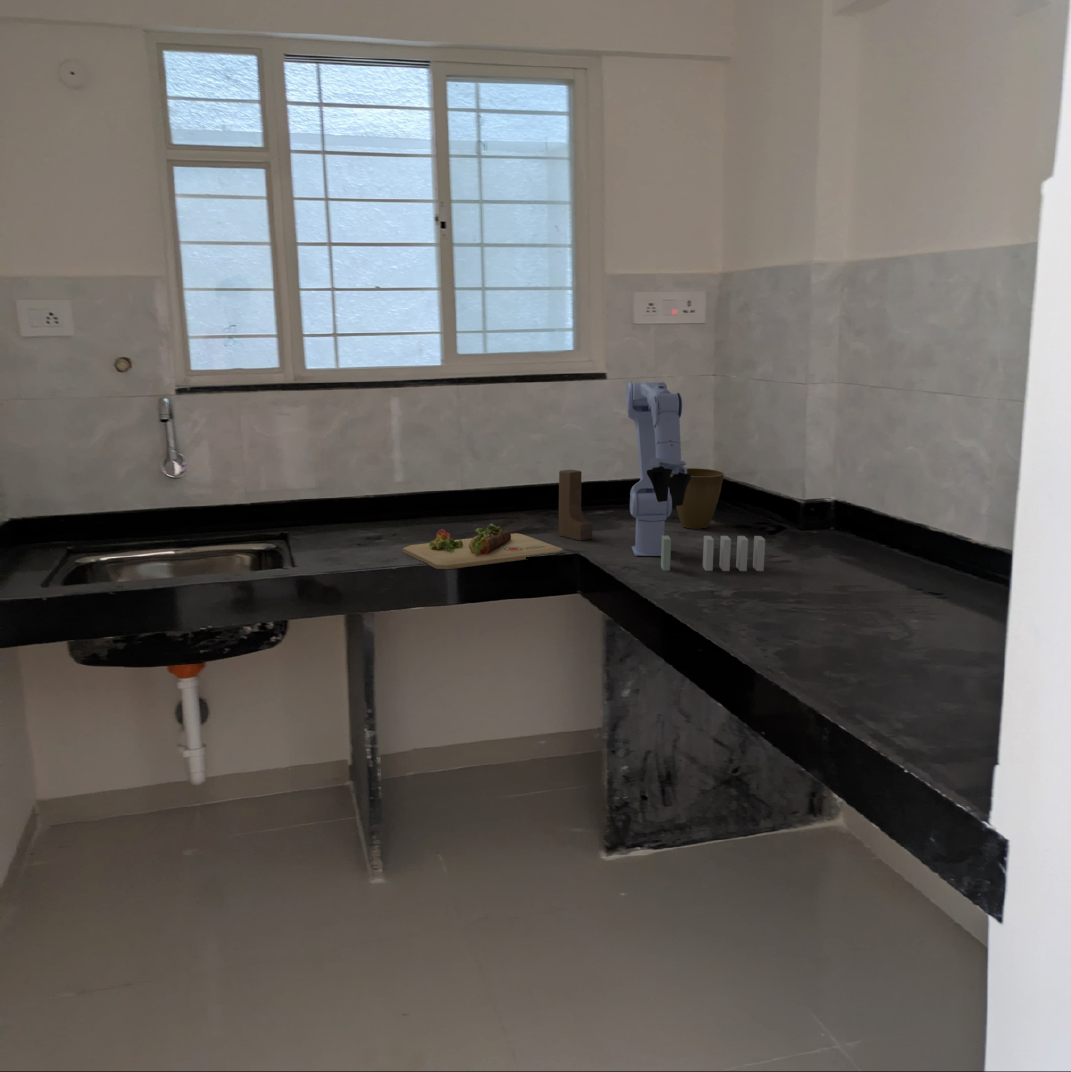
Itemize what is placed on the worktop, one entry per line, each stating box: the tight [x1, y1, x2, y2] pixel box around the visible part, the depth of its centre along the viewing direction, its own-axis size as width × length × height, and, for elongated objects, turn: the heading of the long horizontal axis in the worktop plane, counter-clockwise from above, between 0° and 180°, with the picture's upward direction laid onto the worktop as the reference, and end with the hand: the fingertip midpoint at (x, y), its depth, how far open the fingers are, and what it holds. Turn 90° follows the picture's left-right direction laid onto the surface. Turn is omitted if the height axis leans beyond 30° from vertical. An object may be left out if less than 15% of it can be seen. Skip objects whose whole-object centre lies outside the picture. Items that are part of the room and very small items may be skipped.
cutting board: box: [402, 523, 564, 570], centre depth 248 cm, size 35×23×8 cm
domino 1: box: [660, 535, 672, 572], centre depth 232 cm, size 4×2×8 cm, turn 0°
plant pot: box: [670, 467, 725, 530], centre depth 280 cm, size 15×15×16 cm
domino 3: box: [718, 535, 732, 572], centre depth 232 cm, size 4×2×8 cm, turn 0°
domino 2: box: [702, 535, 715, 572], centre depth 232 cm, size 4×2×8 cm, turn 0°
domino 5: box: [752, 535, 766, 572], centre depth 232 cm, size 4×2×8 cm, turn 0°
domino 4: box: [735, 535, 749, 572], centre depth 232 cm, size 4×2×8 cm, turn 0°
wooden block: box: [558, 469, 593, 542], centre depth 265 cm, size 9×4×18 cm, turn 41°
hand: (670, 503), depth 223 cm, fingers open, 7 cm apart
